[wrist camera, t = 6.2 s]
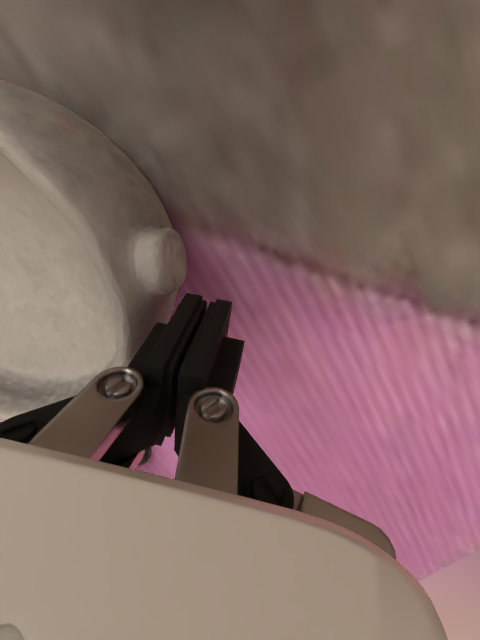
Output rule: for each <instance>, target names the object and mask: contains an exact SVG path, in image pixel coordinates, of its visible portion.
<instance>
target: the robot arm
mask: <svg viewBox="0 0 480 640" xmlns="http://www.w3.org/2000/svg"><path fill="white" fill-rule="evenodd" d="M206 308H207V301H205V300H202V296H201V295H196V294H191V293H186V295H185V296H184V298H183V300H182V301H181V303H180V304H179V306H178V308H177V309H176V311H175V313H174V314H173V316H172V318H171V319H170V321H169V323H168V324H164V323H159V322H158V323H156V325H155V326H154V327H153V329H152V330H151V332H150V333H149V335H148V336H147V338H146V339H145V341H144V342H143V344H142V345H141V347H140V348H139V350H138V351H137V353H136V355H135V356H134V358H133V359H132V361H131V362H130V364H129V365H128V367H113V368H109V369H106V370H104V371H102V372H100V373H99V374H98V375H96V376H95V377H94V378H93V379H92V380H91V381H90V382H89V383H88V384H87V385H86V386H85V387H84V388H83V389H82V390H81V391H80V392H79V393H78V394H77V395H76V396H73V397H70V398H67V399H64V400H61V401H58V402H55V403H52V404H49V405H46V406H43V407H40V408H37V409H34V410H31V411H28V412H25V413H22V414H19V415H16V416H14V417H11V418H9V419H7V420H5V421H4V422H0V640H448V639H447V636H446V633H445V631H444V628H443V625H442V623H441V621H440V618H439V616H438V614H437V612H436V610H435V608H434V605H433V604H432V601H431V600H430V598H429V597H428V595H427V593H426V592H425V590H424V589H423V587H422V586H421V585H420V583H419V582H418V581H417V580H416V579H415V578H414V577H413V575H412V574H411V573H410V572H409V571H408V570H407V569H406V568H404V567H403V566H402V565H401V564H400V563H399V562H398V561H396V555H395V550H394V547H393V545H392V543H391V541H390V539H389V538H388V537H387V536H386V534H385V533H384V532H383V531H382V530H381V529H380V528H378V527H377V526H375V525H374V524H372V523H370V522H368V521H366V520H364V519H362V518H360V517H358V516H356V515H353V514H351V513H349V512H347V511H345V510H343V509H341V508H339V507H337V506H335V505H333V504H331V503H328V502H326V501H324V500H322V499H320V498H318V497H316V496H314V495H312V494H310V493H308V492H306V491H305V492H304V494H301V493H299V492H297V491H295V490H293V489H292V488H291V486H290V484H289V483H288V481H287V480H286V478H285V477H284V476H283V475H282V473H281V472H280V471H279V470H278V468H277V467H276V466H275V465H274V463H273V462H272V461H271V460H270V459H269V457H268V456H267V455H266V454H265V452H264V451H263V450H262V449H261V447H260V446H259V445H258V444H257V442H256V441H255V440H254V439H253V437H252V436H251V435H250V434H249V432H248V431H247V430H246V429H245V427H244V426H243V425H242V424H241V423H240V421H239V406H238V402H237V400H236V398H235V397H234V396H233V392H234V388H235V384H236V380H237V376H238V371H239V367H240V362H241V357H242V352H243V347H244V341H242V340H238V339H233V338H229V337H227V333H228V327H229V321H230V314H231V308H232V302H229V301H224V300H220V299H217V300H216V303H215V302H210V304H209V306H208V308H207V311H206ZM174 428H175V446H174V450H175V452H176V453H177V455H178V457H179V458H178V463H177V469H176V474H175V480H174V479H170V478H166V477H162V476H158V475H154V474H150V473H146V472H142V471H138V470H135V469H136V467H137V466H138V464H139V463H140V461H141V460H142V458H143V456H144V453H145V449H147V448H149V447H152V446H154V445H155V444H156V445H160V446H161V445H162V443H163V440H164V438H165V436H167V437H171V435H172V433H173V430H174Z"/></svg>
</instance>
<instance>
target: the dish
mask: <svg viewBox="0 0 480 640" xmlns="http://www.w3.org/2000/svg"><path fill="white" fill-rule="evenodd" d="M186 274H187V258H186V250H185V246H184V243H183V240H182V238H181V236H180V234H179V233H178V232H177V231H175V230H174V229H172V226H171V223H170V220H169V218H168V215H167V213H166V211H165V208H164V207H163V205H162V203H161V201H160V199H159V198H158V196H157V194H156V192H155V191H154V189H153V187H152V186H151V184H150V183H149V182H148V180H147V179H146V178H145V176H144V175H143V174H142V173H141V171H140V170H139V169H138V168H137V166H136V165H135V164H134V163H133V162H132V161H131V160H130V158H129V157H128V156H127V155H126V154H125V153H124V152H123V151H122V150H121V149H120V148H119V147H118V146H117V145H116V144H114V143H113V142H112V141H111V140H110V139H109V138H108V137H106V136H105V135H104V134H103V133H102V132H101V131H99V130H98V129H97V128H96V127H95V126H93V125H92V124H90V123H89V122H88V121H86V120H85V119H83V118H82V117H80V116H79V115H77V114H76V113H74V112H73V111H71V110H70V109H68V108H67V107H65V106H63V105H61V104H59V103H57V102H55V101H53V100H51V99H49V98H47V97H45V96H43V95H41V94H39V93H37V92H34V91H32V90H30V89H27V88H24V87H21V86H18V85H16V84H13V83H10V82H7V81H4V80H1V79H0V420H7V419H9V418H11V417H14V416H16V415H19V414H22V413H25V412H28V411H31V410H34V409H37V408H40V407H43V406H46V405H49V404H52V403H55V402H58V401H61V400H64V399H67V398H70V397H73V396H76V395H77V394H78V393H79V392H80V391H81V390H82V389H83V388H84V387H85V386H86V385H87V384H88V383H89V382H90V381H91V380H92V379H93V378H94V377H95V376H96V375H98V374H99V373H100V372H102V371H104V370H106V369H109V368H113V367H128V365H129V364H130V362H131V361H132V359H133V358H134V356H135V355H136V353H137V351H138V350H139V348H140V347H141V345H142V344H143V342H144V341H145V339H146V338H147V336H148V335H149V333H150V332H151V330H152V329H153V327H154V326H155V325H156V323H158V322H159V323H164V324H167V323H168V321H169V318H170V316H171V313H172V311H173V308H174V305H175V301H176V297H177V293H178V289H180V287H181V286H182V285H183V283H184V281H185V279H186Z"/></svg>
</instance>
